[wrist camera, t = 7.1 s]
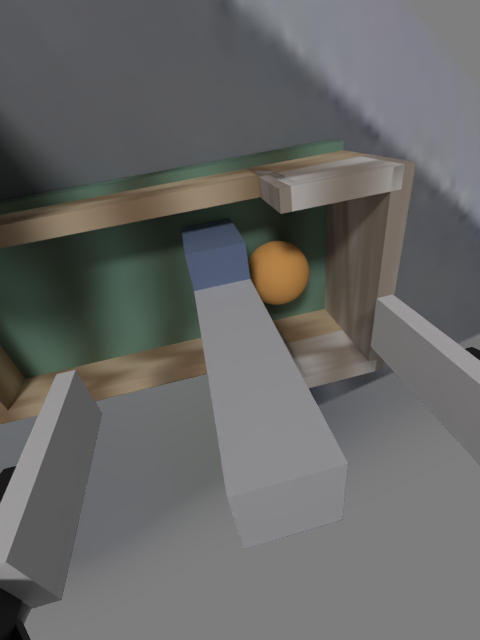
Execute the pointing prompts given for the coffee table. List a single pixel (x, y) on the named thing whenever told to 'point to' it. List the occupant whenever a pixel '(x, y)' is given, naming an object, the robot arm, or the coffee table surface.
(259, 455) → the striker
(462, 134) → the coffee table surface
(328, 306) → the wooden tray
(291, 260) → the ball
